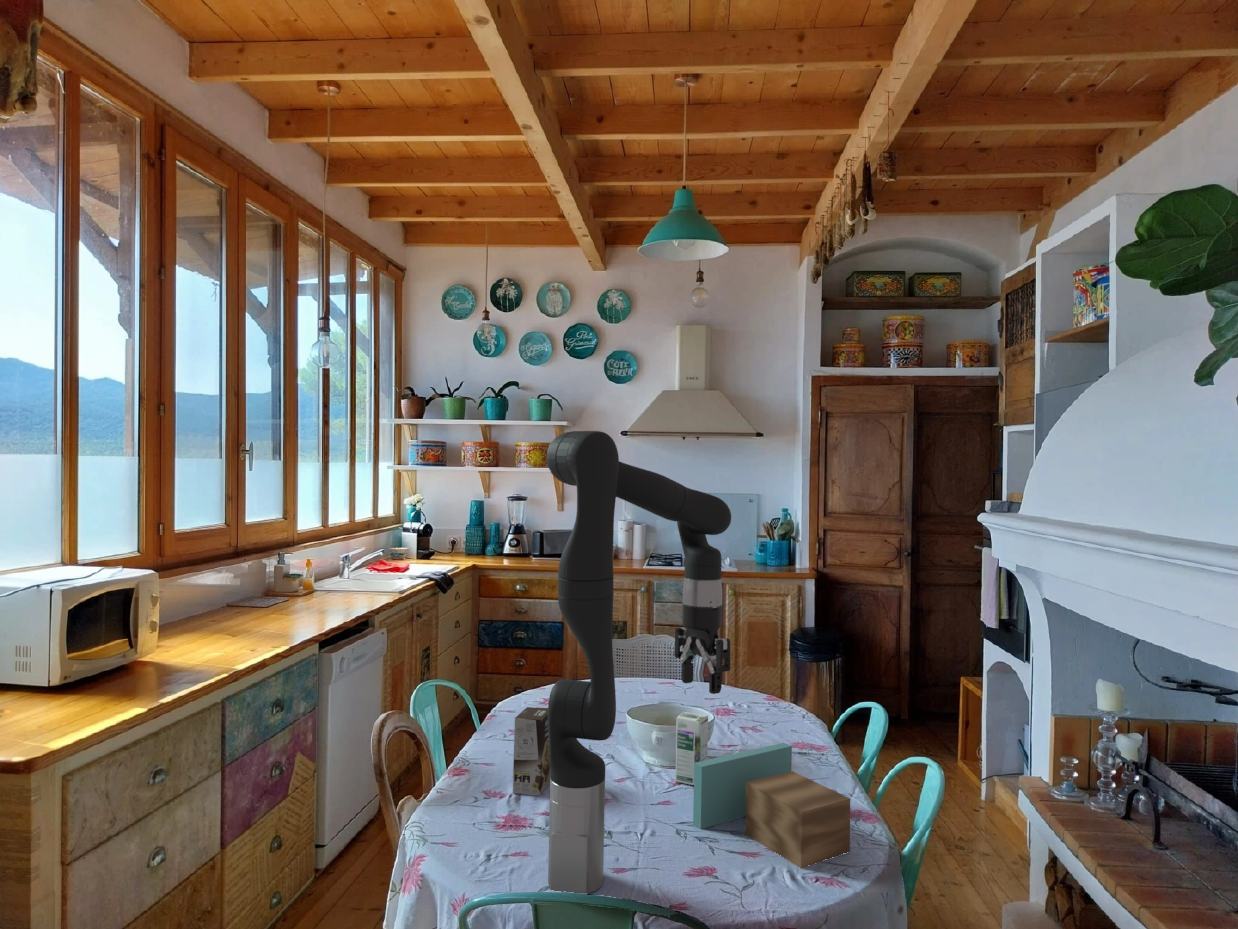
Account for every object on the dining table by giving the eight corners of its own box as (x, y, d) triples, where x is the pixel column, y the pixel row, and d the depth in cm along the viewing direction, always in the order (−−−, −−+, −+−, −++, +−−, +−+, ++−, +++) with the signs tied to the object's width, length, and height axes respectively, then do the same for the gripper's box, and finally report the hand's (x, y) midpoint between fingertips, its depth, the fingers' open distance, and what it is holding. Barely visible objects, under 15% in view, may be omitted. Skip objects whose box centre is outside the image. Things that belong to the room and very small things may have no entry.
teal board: (790, 803, 163) (791, 746, 163) (700, 829, 150) (701, 766, 150) (782, 799, 165) (783, 742, 165) (693, 824, 152) (694, 762, 152)
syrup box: (674, 782, 173) (675, 717, 174) (684, 773, 179) (685, 710, 179) (698, 787, 171) (699, 721, 171) (707, 778, 176) (708, 714, 176)
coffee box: (540, 796, 164) (542, 720, 164) (511, 793, 165) (513, 717, 166) (552, 780, 173) (554, 707, 173) (525, 777, 174) (526, 705, 175)
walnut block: (849, 854, 142) (850, 798, 142) (801, 869, 136) (801, 812, 136) (792, 822, 155) (792, 771, 155) (745, 835, 149) (746, 782, 149)
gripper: (664, 598, 152) (663, 681, 152) (710, 609, 140) (709, 700, 140) (694, 595, 156) (693, 677, 156) (742, 606, 144) (741, 694, 144)
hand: (700, 687), depth 148 cm, fingers open, 8 cm apart
